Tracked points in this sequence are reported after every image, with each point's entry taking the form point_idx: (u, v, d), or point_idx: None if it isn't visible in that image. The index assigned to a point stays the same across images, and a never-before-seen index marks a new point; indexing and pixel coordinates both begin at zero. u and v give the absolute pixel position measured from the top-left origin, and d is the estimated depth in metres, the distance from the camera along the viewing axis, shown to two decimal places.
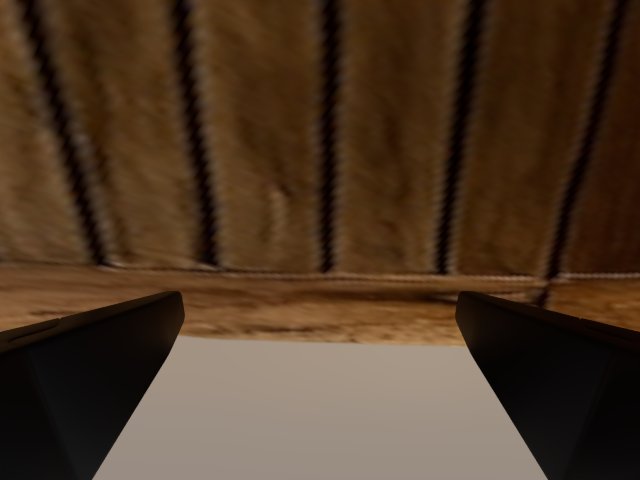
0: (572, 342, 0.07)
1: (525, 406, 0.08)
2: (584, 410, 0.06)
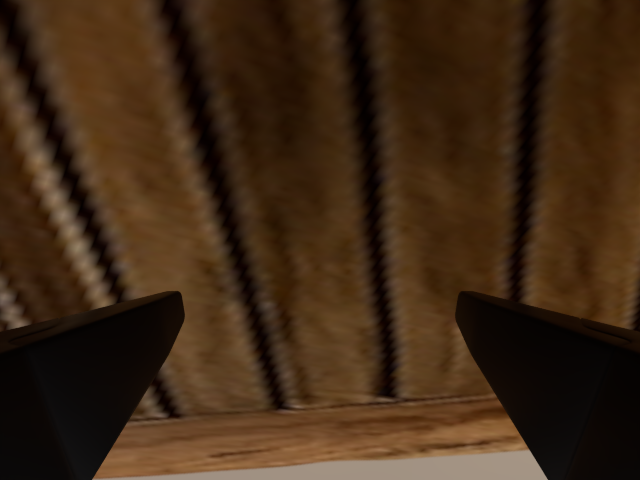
0: (572, 342, 0.07)
1: (525, 406, 0.08)
2: (584, 410, 0.06)
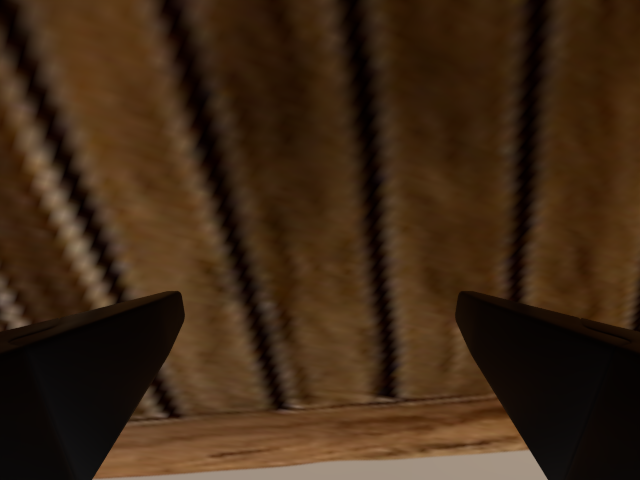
0: (572, 342, 0.07)
1: (525, 406, 0.08)
2: (584, 410, 0.06)
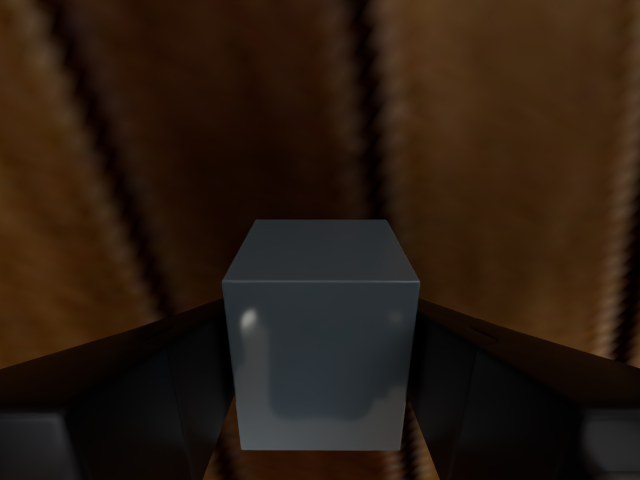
0: (451, 342, 0.07)
1: (425, 406, 0.08)
2: (459, 410, 0.06)
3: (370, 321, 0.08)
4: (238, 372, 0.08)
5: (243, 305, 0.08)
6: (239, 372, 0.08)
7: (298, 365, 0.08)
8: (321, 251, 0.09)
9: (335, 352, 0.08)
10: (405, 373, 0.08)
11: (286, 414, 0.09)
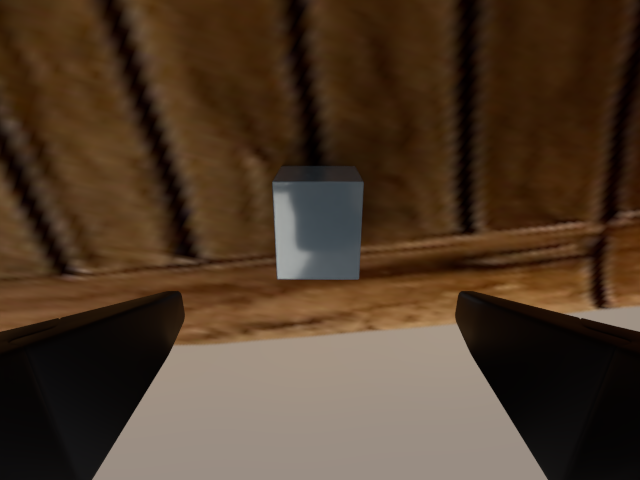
0: (572, 342, 0.07)
1: (525, 406, 0.08)
2: (584, 410, 0.06)
3: (341, 203, 0.17)
4: (277, 231, 0.17)
5: (281, 194, 0.17)
6: (278, 231, 0.17)
7: (307, 227, 0.17)
8: (318, 174, 0.18)
9: (325, 220, 0.17)
10: (358, 231, 0.17)
11: (300, 256, 0.18)
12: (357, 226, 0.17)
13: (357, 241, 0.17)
